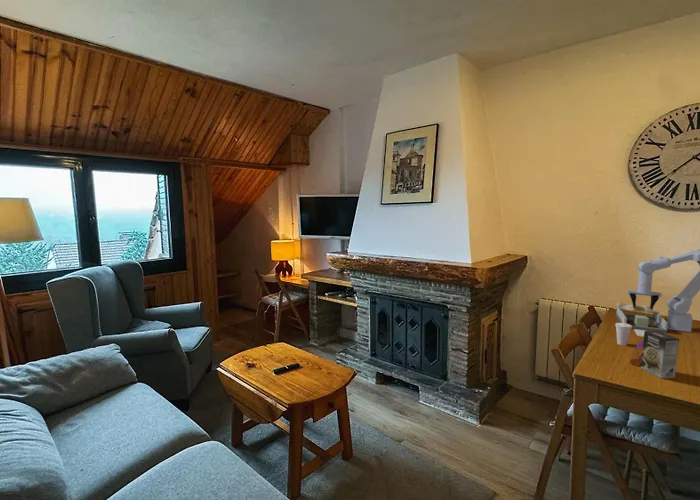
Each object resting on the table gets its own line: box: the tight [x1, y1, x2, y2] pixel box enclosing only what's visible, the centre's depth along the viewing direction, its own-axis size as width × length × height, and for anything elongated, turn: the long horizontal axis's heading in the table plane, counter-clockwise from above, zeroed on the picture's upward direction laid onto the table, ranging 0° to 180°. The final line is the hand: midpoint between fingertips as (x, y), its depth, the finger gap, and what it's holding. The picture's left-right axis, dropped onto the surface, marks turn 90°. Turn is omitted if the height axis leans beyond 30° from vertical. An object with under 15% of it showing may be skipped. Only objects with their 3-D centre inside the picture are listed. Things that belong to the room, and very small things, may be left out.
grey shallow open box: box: [615, 306, 668, 334], centre depth 201 cm, size 18×25×6 cm
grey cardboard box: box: [640, 331, 680, 379], centre depth 142 cm, size 9×6×16 cm
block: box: [634, 314, 649, 327], centre depth 198 cm, size 5×5×5 cm
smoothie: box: [614, 316, 633, 347], centre depth 172 cm, size 6×6×14 cm
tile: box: [633, 329, 645, 338], centre depth 184 cm, size 10×10×1 cm
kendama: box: [629, 341, 643, 367], centre depth 156 cm, size 6×6×20 cm
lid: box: [615, 302, 660, 315], centre depth 209 cm, size 18×13×3 cm
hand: (642, 308), depth 197 cm, fingers open, 7 cm apart
